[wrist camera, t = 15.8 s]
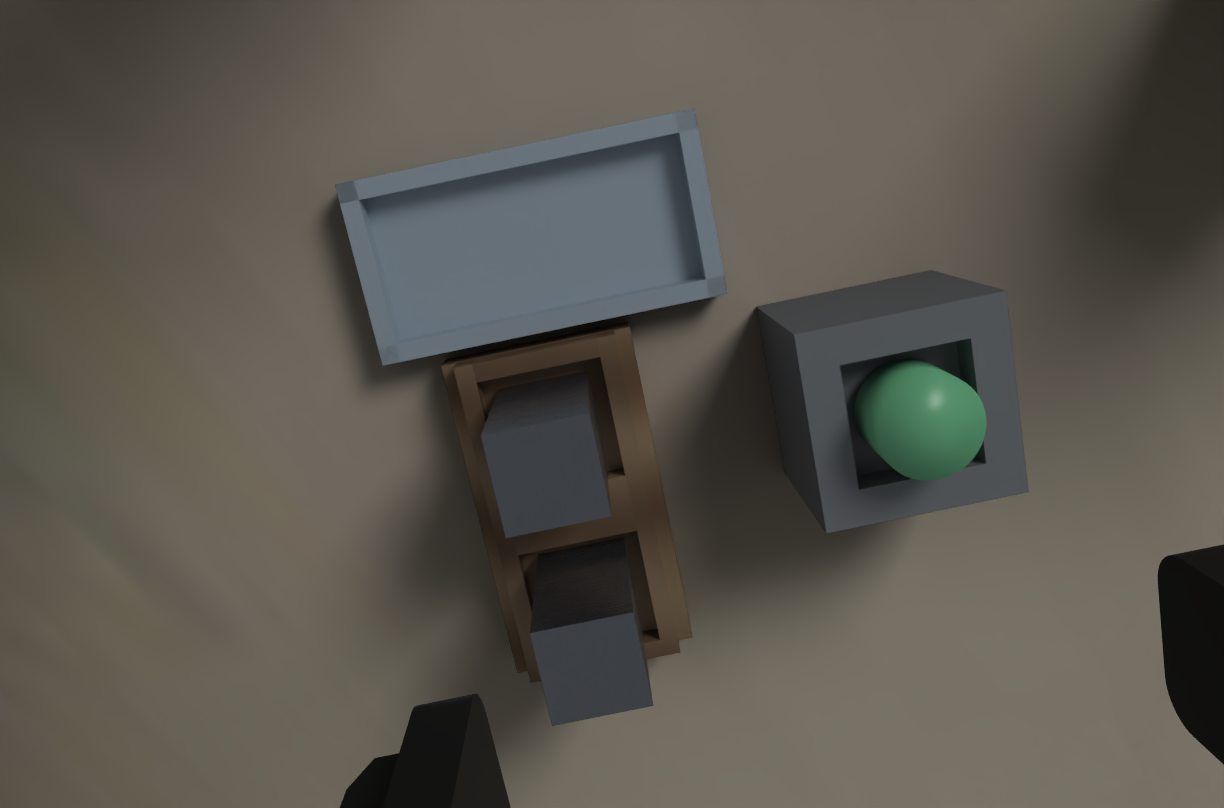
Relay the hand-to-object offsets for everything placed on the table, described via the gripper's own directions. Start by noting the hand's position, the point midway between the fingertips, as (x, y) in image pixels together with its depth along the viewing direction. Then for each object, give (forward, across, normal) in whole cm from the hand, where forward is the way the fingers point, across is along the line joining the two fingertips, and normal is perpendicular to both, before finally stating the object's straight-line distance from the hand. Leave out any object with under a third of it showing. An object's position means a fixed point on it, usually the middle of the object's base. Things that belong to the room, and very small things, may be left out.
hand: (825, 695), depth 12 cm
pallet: (+34, +5, +8) cm, 35 cm away
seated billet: (+32, +5, +4) cm, 33 cm away
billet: (+32, +5, +12) cm, 35 cm away
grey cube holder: (+34, -9, +5) cm, 35 cm away
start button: (+27, -9, +5) cm, 29 cm away
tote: (+34, +4, -4) cm, 34 cm away
